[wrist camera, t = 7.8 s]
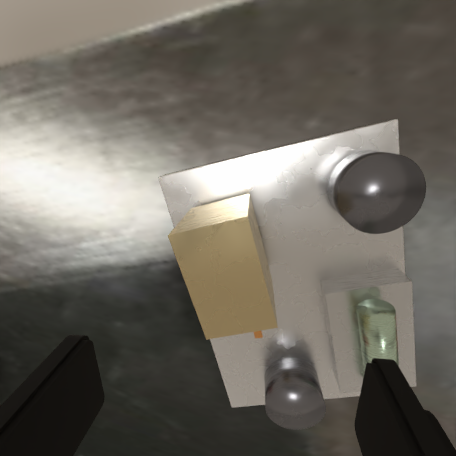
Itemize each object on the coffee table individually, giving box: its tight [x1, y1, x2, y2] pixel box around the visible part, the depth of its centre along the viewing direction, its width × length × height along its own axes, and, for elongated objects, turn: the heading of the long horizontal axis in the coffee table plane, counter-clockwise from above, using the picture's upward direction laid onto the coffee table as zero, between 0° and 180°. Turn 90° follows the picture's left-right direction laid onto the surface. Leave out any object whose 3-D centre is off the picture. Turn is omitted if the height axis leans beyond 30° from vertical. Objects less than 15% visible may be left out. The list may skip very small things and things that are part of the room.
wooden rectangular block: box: [168, 193, 278, 340], centre depth 19 cm, size 10×4×7 cm, turn 16°
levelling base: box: [158, 119, 426, 429], centre depth 21 cm, size 17×24×6 cm
